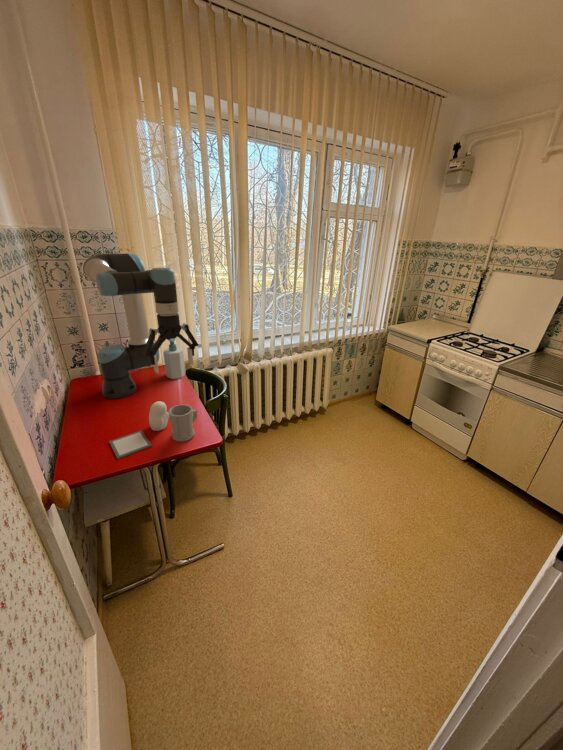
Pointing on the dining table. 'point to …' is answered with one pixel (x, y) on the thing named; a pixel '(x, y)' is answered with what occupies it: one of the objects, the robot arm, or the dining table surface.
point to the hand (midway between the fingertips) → (174, 367)
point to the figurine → (158, 416)
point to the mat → (129, 444)
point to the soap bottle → (174, 361)
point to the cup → (182, 422)
